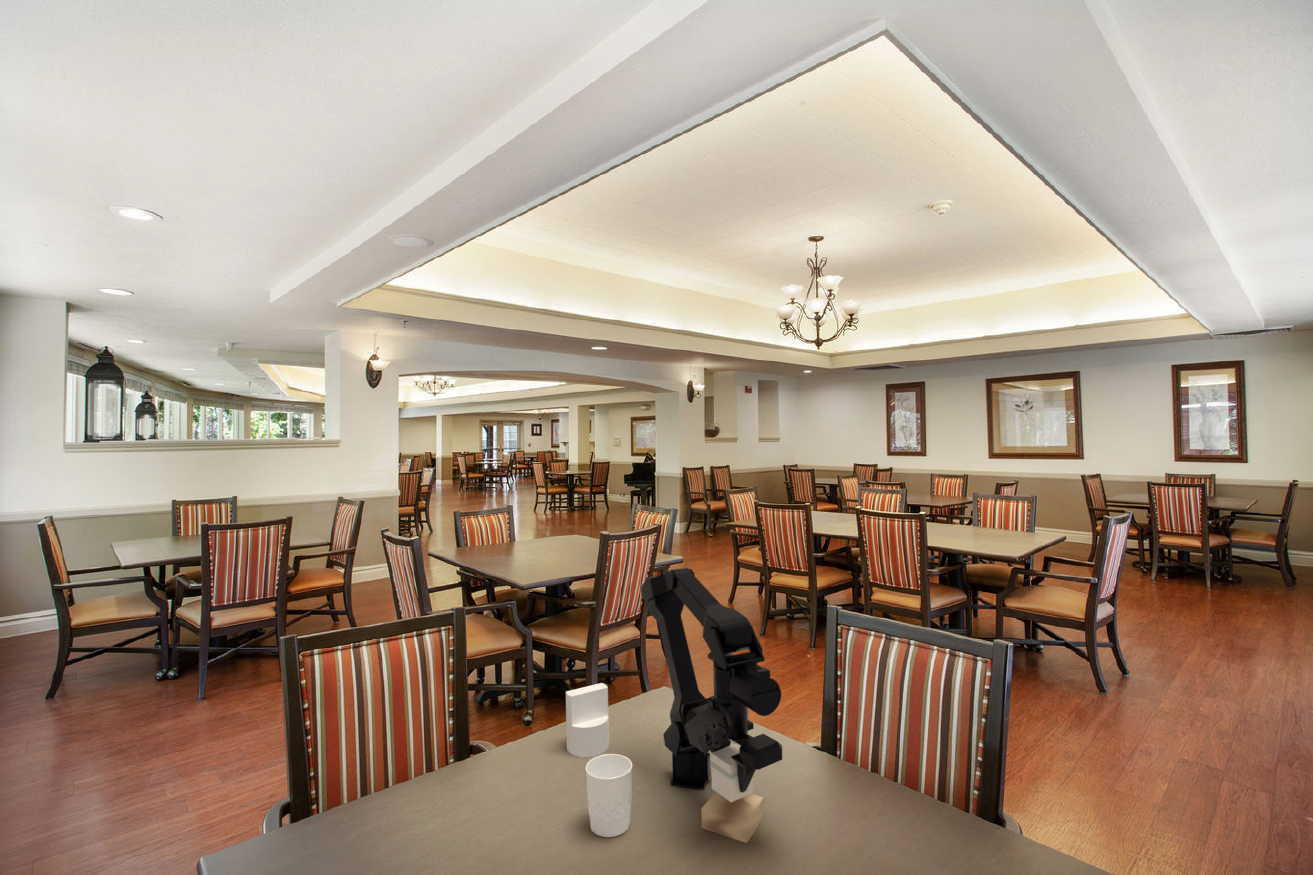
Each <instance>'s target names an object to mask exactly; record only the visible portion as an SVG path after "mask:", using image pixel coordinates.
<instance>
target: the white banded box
mask: <svg viewBox="0 0 1313 875" xmlns="http://www.w3.org/2000/svg"><path fill="white" fill-rule="evenodd" d="M739 748H740V747H739V746H737V745H735V743H732V744H731V745H730V746H728V747H725V748H723V749H720V750H718V751H715V752H712V753H711V752H710V766H711V789H712V790H713V791H715V792H718V793H719V794H720V795H722V796H723V797H724V798H726V799H727V800H728V801H730V802H733V801H735V800H738V799H740V798H742V797H744V796H746V795H749V794H754V792H755V790H754V789H755V787H754V786H755V782H754V776H753V777H752V779H751V781H750V783H749V786H748V788H747V790H746V791H745V792H743V793H741V792H740V789H739V781H738V768H737V763H736V762H735V761H734V760H733V759H732V758H731V756H733V755H736V754H738V753H739Z"/></svg>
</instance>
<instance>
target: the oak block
mask: <svg viewBox="0 0 1313 875" xmlns="http://www.w3.org/2000/svg"><path fill="white" fill-rule="evenodd" d="M700 809H701V810H700V811H701V812H700V813H701V828H702V829H704V830H707V831H710V832H713V833H716V834H719V835H722V836H725V837H728V838H729V839H734V840H735V841H738V842H739V841H740V842H742V843H745V844H747V843H748V842H749V840H750V839H751V837H752V836H753V834H754V832H756V830H757V828H758V827H759V825H760V824H761V822H762V820H763V819H764V817H765V797H763V796H760V795H757V794H754V793H751V794H749V795H746V796H744V797H742V798H740V799H738V800H735V801H733V802H730V801H728V800H727V799H726V798H724V797H723V796H722V795H720V794H719V793H718V792H716V791H715V792H714V793H713V794H712V795H711V797H710V798H708V800H707V801H706V802H705V803H704V805H703V806H702V807H701V808H700Z"/></svg>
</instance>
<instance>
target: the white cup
mask: <svg viewBox="0 0 1313 875" xmlns="http://www.w3.org/2000/svg"><path fill="white" fill-rule="evenodd" d="M585 778H586V796H587V807H588V808H587V809H588V815H589V826H590V830H591V831H592V832H593V833H594V834H595V835H596V836H599V837H602V838H615V837H618V836H621V835H623V834H624V833H625V832H627V831H628V830H629V828H630V824H631V809H632V793H633V791H632V790H633V762H632V761H631V759H630V758H628V757H627V756H625V755H622V754H618V753H605V754H601V755H600V754H599V755H596V756H594V757H593V758H591V759H590V760H588V762H587V763H586V765H585Z"/></svg>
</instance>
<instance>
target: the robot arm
mask: <svg viewBox="0 0 1313 875" xmlns="http://www.w3.org/2000/svg"><path fill="white" fill-rule="evenodd" d="M640 587H641V588H640V592H641V593H640V594H641V597H642V599H643V601H644V604H645V607H646V611H647V612H648V613H649V614H650V615H651V616H652V617H653V618H654V620H655V621H657V625H658V629H659V633H660V638H661V643H662V646H663V650H664V656H665V659H666V664H667V668H668V675H669V678H670V682H671V687H672V691H673V696H674V697H673V701H672V705H671V709H670V712H669V719H670V725H668V727H667V729H666V730H665V731H664V733H663V740H664V741H663V742H664V746H665V747H666V749H668V750H669V751H670V752H671V755H672V759H671V760H672V764H671V766H672V776H671V778H670V781H669V783H670V785H672V786H678V787H685V788H692V789H699V790H704V789H705V787H706V783H707V782H708V781H709V779H710V776H711V775H712V772H711V753H712V752H715V751H718V750H720V749H723V748H725V747H728V746H730V745H732V744H734V745H735V744H737V745H739V746H740V747H738V748H739V753H738V754H736V755H733V756H731V758H732V759H733V760H734V761H735V762H736V763H737V768H738V781H739V789H740V792H741V793H743V792H745V791H746V790H747V788H748V786H749V783H750V781H751V779H752V777H753V778H754V775H755V772H756V770H761V769H763V768H766V767H769V766H771V765H774V764H775V763H778V762H781V761H782V760H783V745H782V744H781V743H780V742H779V741H777V740H776V739H774V738H772V737H771V736H769V735H767V734H765V733H761V734H757V735H756V736H752V735H751V734H748V732H749V731H751V730H754V729H755V728H754V727H755V725H754V722H753V721H751V720H750V719H749V710H751V711H752V712H754V713H755V714H757V715H758V716H761V717H767V716H770V715H771V714H773V713H774V712H775V711H776V710H777V709H778V706H779V705H780V703H781V700H782V699H781V698H782V689H781V688H780V684H779V683H778V681H777V680H775V679H774V678H772V677H771V671H770V670H769V669H768V668H766V667H762V666H761V665H759V664H758V663H762V662H765V655H764V654H763V647H762V646H761V643H760V642H759V640H758V637H757V635H756V633H755V629H754V627H753V625H752V624H751V621H750V620H749V619H748V617H746V616H745V615H744V614H743V613H740V612H739V611H738V610H736V609H734V608H732V607H731V608H730V607H727V606H725V605H723V604H722V603H720V601H719V600H718V599H717V598H716V597H715V596H714V595H713V594H712V593H711V592H710V591H709V590H708V589H707V588H706V587H705V585H703V583H702V582H700V580H699V579H698V578H697V577H696V576H695V572H694V571H693V569H691V568H688V567H682V568H674V569H669V570H668V571H666V572H664V573H663V574H659V575H656V576H649V577H646V578H645V580H644V582H643V583H642V585H641V586H640ZM684 607H686V608H687V609H688V610H689V612H690V613H691V614H692V615H693V616H694V617H695V619H696V620H697V621H698V622H699V623H700V624H701V627H702V638H703V640H704V642H705V644H706V645H707V647H708V649H709V650H710V652H709V653H708V654H707V658H708V659H709V660H711V661H712V662H713V666H712V667H713V668H712V669H713V695H712V696H709V697H707V698H706V697H705V696H704V695H703V693H701V691H700V689H699V686H698V682H697V677H696V674H695V669H694V665H693V660H692V656H691V651H690V648H689V644H688V639H687V635H686V632H685V628H684V627H685V626H684V623H683V622H684V621H683V619H682V613H683V609H684ZM747 650H749V651H747ZM741 651H747V652H742V653H738V652H741ZM736 652H737V653H738V654H735V653H736Z"/></svg>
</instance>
